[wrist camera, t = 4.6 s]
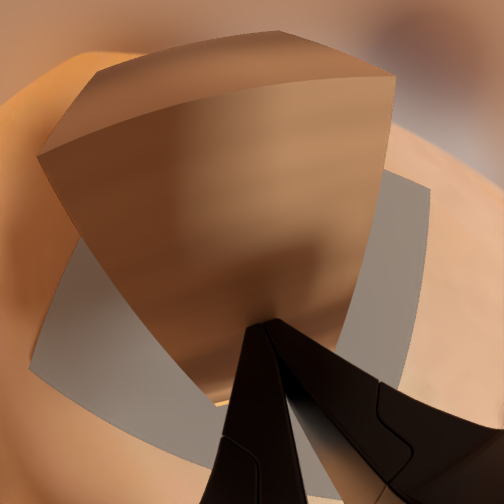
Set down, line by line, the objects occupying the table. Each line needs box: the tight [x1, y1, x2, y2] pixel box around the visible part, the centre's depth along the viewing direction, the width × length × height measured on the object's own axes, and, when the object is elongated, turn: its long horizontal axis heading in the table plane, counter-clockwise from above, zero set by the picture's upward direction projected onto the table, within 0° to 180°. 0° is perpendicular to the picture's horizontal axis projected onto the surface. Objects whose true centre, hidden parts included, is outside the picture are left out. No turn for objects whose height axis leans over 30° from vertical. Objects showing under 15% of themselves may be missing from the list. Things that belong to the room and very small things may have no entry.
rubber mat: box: [29, 169, 430, 500], centre depth 16 cm, size 20×20×1 cm
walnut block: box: [37, 31, 396, 407], centre depth 9 cm, size 5×5×12 cm
